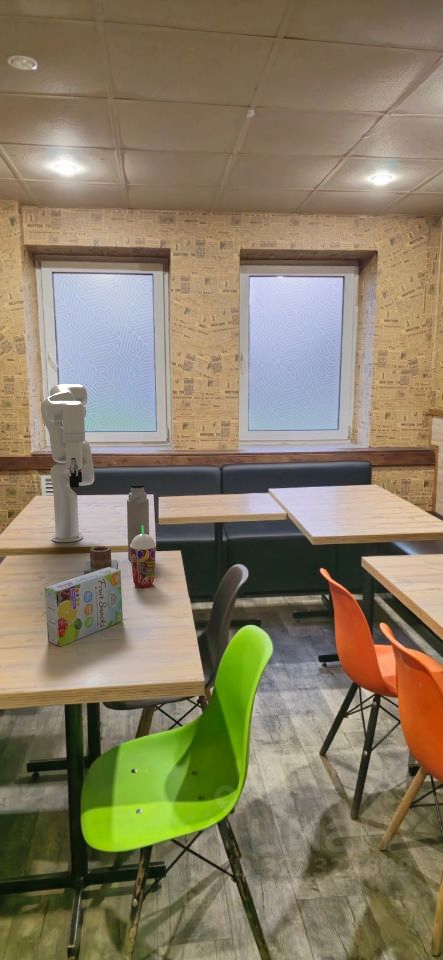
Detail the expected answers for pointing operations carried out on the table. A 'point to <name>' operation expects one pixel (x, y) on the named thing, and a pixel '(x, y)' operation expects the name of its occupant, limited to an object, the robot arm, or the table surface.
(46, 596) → the snack box
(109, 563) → the walnut ring
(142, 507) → the thermos bottle
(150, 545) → the smoothie
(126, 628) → the table surface
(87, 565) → the post stand
